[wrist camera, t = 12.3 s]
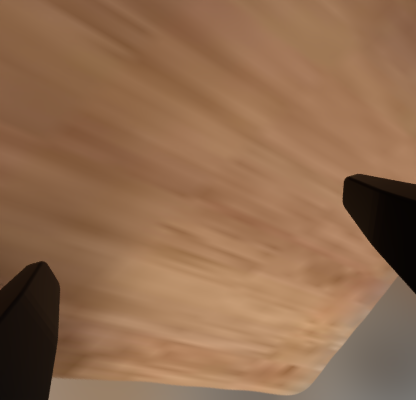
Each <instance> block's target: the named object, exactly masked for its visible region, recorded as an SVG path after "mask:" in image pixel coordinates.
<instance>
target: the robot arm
mask: <svg viewBox="0 0 416 400" xmlns="http://www.w3.org/2000/svg"><path fill="white" fill-rule="evenodd" d="M343 205H344V207H345V209H346V210H347V211H348V213H349V214H350V216H351V217H352V218H353V220H354V221H355V223H356V224H357V225H358V227H359V228H360V230H361V231H362V232H363V234H364V235H365V236H366V238H367V239H368V241H369V242H370V243H371V244H372V246H373V247H374V248H375V249H376V250H377V251H378V253H379V254H380V255H381V256H382V257H383V258H384V259H385V260H386V262H387V263H388V264H389V265H390V266H391V267H392V268H393V269H394V270H395V272H396V273H397V274H398V275H399V276H400V277H401V278H402V279H403V280H404V282H405V283H406V284H407V285H408V286H409V287H410V288H411V289H412V291H413V292H414V293H415V294H416V184H411V183H406V182H400V181H395V180H390V179H384V178H379V177H374V176H369V175H363V174H356V175H352V176H348V177H346V178H345V180H344V187H343ZM59 303H60V285H59V282H58V280H57V278H56V277H55V275H54V274H53V272H52V270H51V269H50V267H49V266H48V264H47V263H46V262H44V261H41V262H37V263H33V264H30V265H28V266H26V267H25V268H24V269H23V270H22V271H21V272H20V273H19V274H18V275H16V276H15V277H14V278H13V279H12V280H11V281H10V282H9V283H8V284H7V285H5V286H4V287H3V288H2V289H1V290H0V400H48V398H49V392H50V385H51V380H52V373H53V367H54V361H55V355H56V349H57V341H58V328H59Z"/></svg>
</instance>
